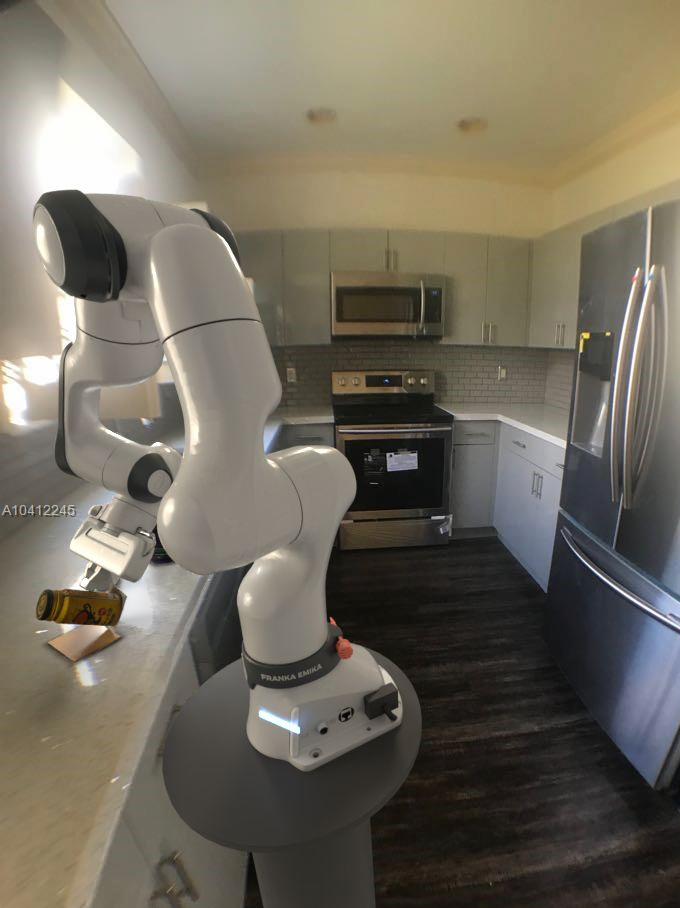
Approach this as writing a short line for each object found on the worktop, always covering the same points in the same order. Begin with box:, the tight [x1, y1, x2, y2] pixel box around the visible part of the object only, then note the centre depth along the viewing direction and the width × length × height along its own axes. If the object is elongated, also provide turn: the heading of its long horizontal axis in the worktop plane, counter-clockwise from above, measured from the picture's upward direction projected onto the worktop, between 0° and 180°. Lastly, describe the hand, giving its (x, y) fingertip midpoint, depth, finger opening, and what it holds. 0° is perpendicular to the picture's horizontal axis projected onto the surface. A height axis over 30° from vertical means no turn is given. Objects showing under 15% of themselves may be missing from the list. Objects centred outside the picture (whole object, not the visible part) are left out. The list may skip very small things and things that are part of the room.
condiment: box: [35, 583, 128, 633], centre depth 83 cm, size 7×8×12 cm
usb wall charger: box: [95, 573, 121, 591], centre depth 103 cm, size 4×7×4 cm, turn 11°
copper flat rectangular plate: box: [47, 625, 122, 663], centre depth 83 cm, size 8×10×1 cm
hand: (85, 589), depth 83 cm, fingers closed, pressing on condiment
